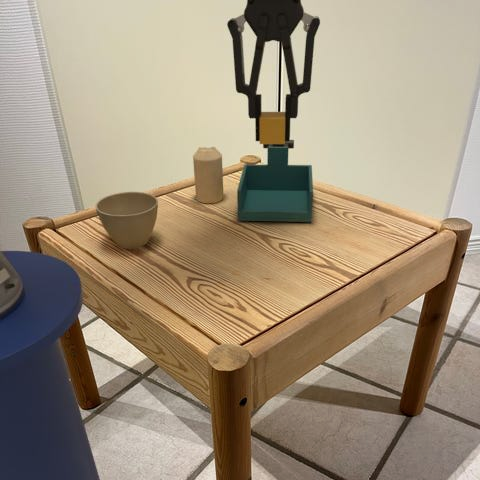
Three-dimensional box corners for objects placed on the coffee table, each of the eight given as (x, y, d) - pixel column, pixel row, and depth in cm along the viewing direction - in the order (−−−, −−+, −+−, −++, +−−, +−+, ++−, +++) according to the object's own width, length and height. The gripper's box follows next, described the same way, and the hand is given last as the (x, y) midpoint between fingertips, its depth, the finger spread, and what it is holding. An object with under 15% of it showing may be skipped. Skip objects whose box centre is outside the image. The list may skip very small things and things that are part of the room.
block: (259, 144, 82) (259, 118, 80) (261, 136, 85) (261, 111, 83) (284, 144, 82) (285, 118, 79) (285, 137, 85) (286, 111, 82)
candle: (223, 192, 105) (221, 142, 99) (224, 203, 100) (222, 151, 94) (196, 193, 105) (192, 144, 99) (196, 204, 100) (192, 153, 94)
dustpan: (246, 184, 107) (245, 138, 102) (309, 185, 106) (312, 138, 100) (237, 220, 93) (236, 169, 87) (311, 221, 92) (314, 169, 86)
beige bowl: (118, 262, 82) (111, 221, 78) (93, 240, 88) (85, 200, 84) (173, 244, 86) (168, 204, 82) (145, 224, 93) (140, 186, 89)
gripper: (336, -39, 72) (325, 132, 85) (216, -35, 74) (224, 132, 87) (338, -38, 66) (326, 146, 79) (207, -34, 68) (217, 145, 81)
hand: (273, 138), depth 83 cm, fingers closed on block, 4 cm apart
